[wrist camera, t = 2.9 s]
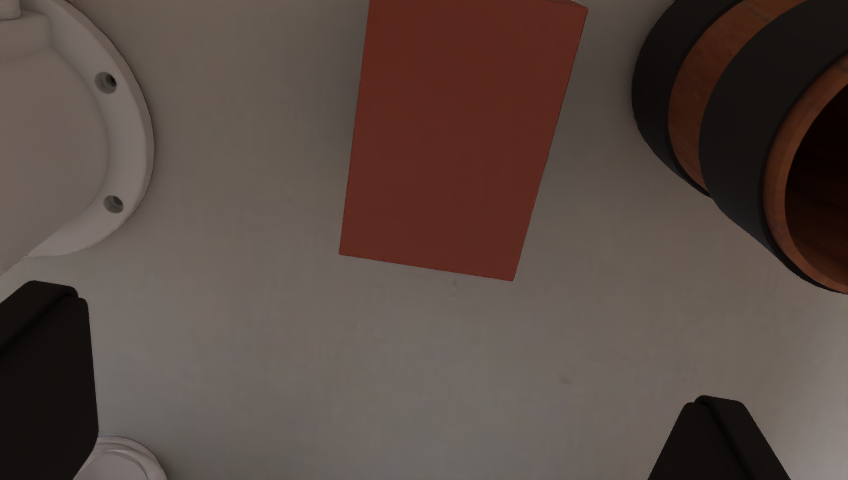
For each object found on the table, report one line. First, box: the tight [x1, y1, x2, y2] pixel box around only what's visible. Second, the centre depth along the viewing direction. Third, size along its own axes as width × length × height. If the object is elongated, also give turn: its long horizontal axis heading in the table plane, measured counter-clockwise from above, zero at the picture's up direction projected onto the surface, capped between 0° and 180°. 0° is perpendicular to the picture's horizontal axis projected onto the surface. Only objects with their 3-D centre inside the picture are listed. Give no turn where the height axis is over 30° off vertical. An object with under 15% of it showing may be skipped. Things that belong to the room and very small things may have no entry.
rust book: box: [339, 0, 588, 281], centre depth 21 cm, size 10×6×2 cm
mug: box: [632, 0, 848, 295], centre depth 21 cm, size 9×12×12 cm
